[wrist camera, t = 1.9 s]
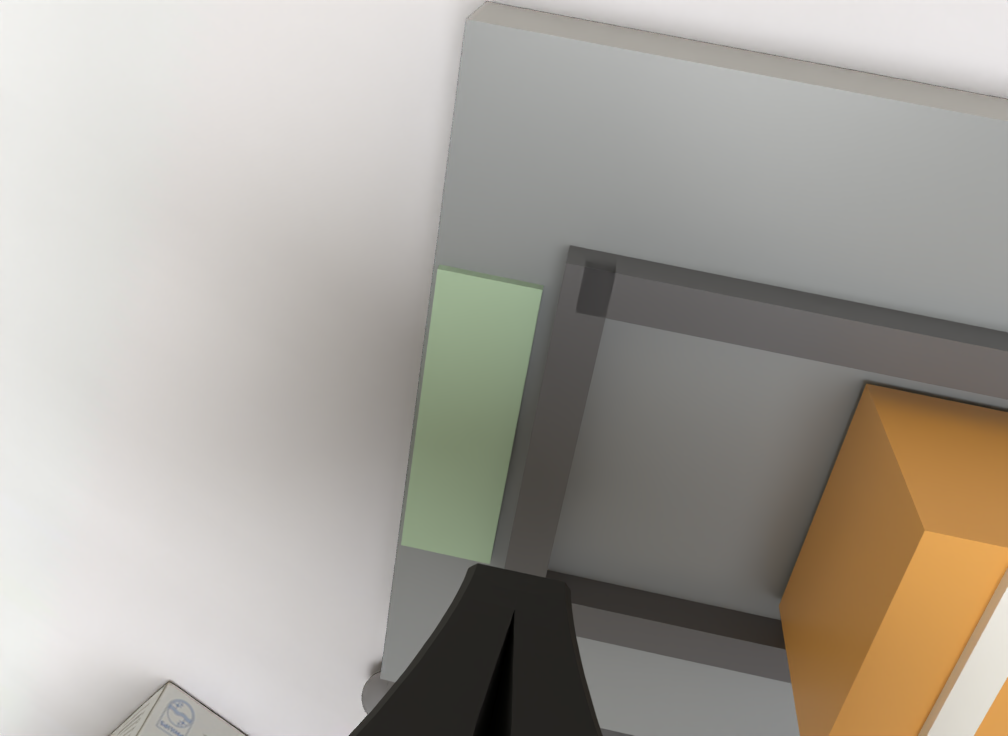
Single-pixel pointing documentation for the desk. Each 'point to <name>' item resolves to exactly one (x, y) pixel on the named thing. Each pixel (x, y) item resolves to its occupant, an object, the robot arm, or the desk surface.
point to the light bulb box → (174, 717)
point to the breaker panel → (681, 338)
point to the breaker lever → (905, 576)
